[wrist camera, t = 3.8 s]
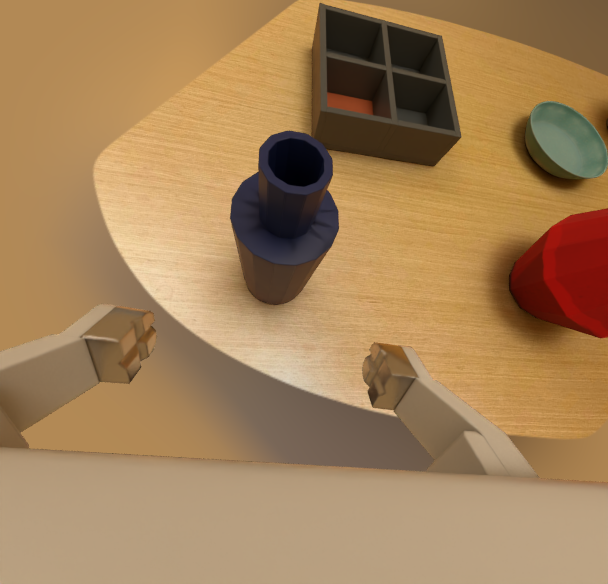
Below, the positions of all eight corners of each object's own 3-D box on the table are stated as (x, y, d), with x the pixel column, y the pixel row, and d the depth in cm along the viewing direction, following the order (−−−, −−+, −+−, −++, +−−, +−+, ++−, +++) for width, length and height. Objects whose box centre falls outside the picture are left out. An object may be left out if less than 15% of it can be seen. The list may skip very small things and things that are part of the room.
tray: (311, 146, 30) (320, 110, 26) (311, 48, 35) (319, 2, 30) (434, 166, 33) (461, 137, 29) (420, 74, 38) (442, 35, 33)
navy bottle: (242, 303, 24) (210, 220, 9) (247, 246, 25) (226, 90, 10) (304, 306, 25) (371, 236, 10) (304, 251, 27) (363, 116, 11)
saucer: (598, 194, 38) (622, 183, 36) (525, 183, 36) (545, 171, 33) (572, 123, 42) (592, 108, 39) (504, 109, 39) (521, 92, 37)
